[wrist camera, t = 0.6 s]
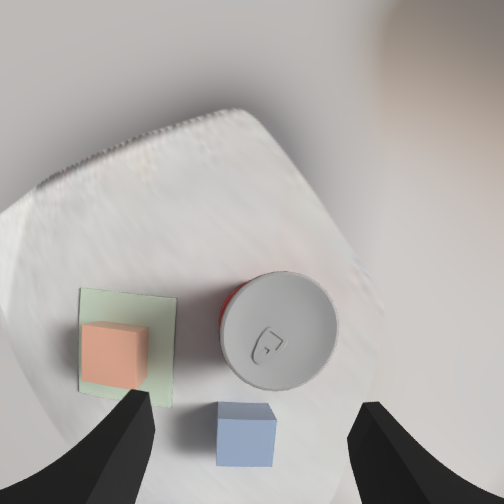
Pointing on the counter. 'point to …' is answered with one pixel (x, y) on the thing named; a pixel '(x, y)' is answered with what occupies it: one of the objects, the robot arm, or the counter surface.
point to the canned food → (278, 330)
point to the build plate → (141, 314)
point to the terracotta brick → (114, 354)
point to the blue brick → (245, 434)
